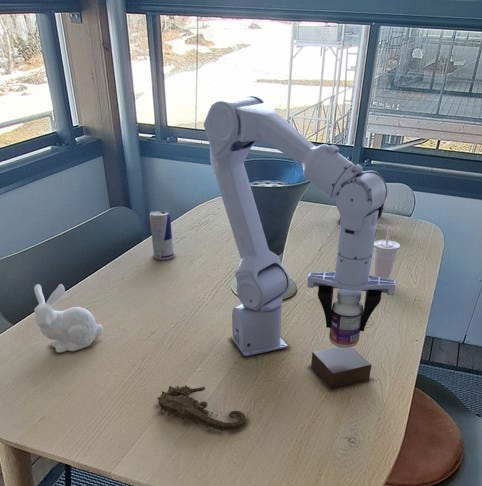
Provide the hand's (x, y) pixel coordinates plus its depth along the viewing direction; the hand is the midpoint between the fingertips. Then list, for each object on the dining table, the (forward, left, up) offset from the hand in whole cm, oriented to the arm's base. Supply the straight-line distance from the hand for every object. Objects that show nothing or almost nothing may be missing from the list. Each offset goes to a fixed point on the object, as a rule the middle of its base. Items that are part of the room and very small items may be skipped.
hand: (345, 326), depth 94 cm
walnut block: (0, 0, -10) cm, 10 cm away
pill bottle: (0, 0, -3) cm, 3 cm away
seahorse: (-28, -1, -10) cm, 30 cm away
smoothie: (+31, +33, -10) cm, 46 cm away
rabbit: (-46, +30, -10) cm, 56 cm away
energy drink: (-16, +69, -10) cm, 71 cm away
